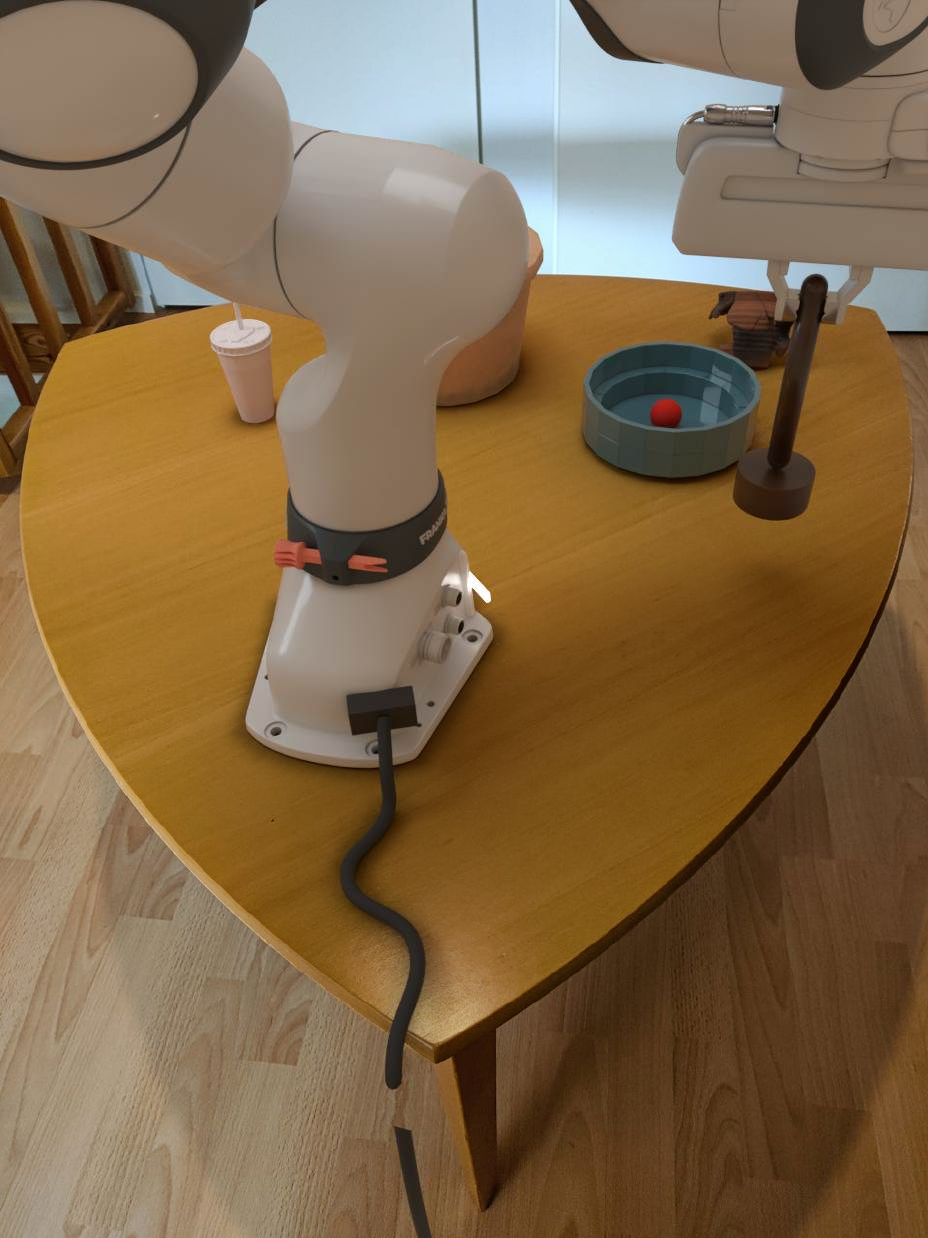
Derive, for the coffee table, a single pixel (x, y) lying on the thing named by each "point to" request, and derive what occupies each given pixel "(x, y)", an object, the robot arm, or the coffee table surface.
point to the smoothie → (247, 365)
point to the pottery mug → (753, 326)
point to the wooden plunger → (785, 425)
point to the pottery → (491, 349)
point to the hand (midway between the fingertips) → (808, 319)
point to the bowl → (691, 376)
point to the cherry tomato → (666, 414)
